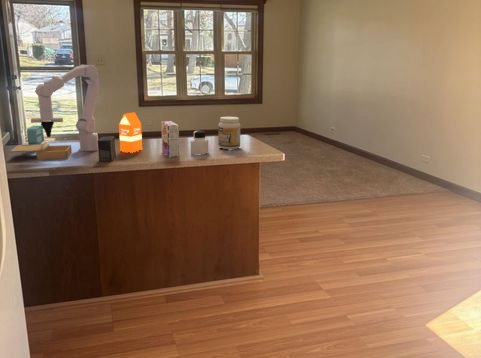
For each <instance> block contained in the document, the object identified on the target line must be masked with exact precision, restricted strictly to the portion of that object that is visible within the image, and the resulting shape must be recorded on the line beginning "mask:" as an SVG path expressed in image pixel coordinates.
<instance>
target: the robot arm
mask: <svg viewBox="0 0 481 358" xmlns="http://www.w3.org/2000/svg"><path fill="white" fill-rule="evenodd" d="M77 77H81V78H82V79H83V80H84V81H85V82H86V84H87V87H86V88H87V89H86V93H85V99H84V104H83V108H82V109H83V110H82V113H81V114H80V115H79V117H78V119H77V121H76V124H75V128H76V130H78V138H79V149H78V151H79V152H85V151H87V152H90V151H91V152H92V151H95V152H96V151H98V140H99V135H98V133H97V132H95V130H96V119H95V117H94V115H95V108H96V103H97V99H98V94H99V88H100V85H101V84H100V78H99V69H98V68H97V67H96V66H95V65H93V64H80V65H77V66H75V67H74V68H73V69H72V68H71V70H69V71H68V72H65V74H63V75H61V76H58V75H57V76H55V75H54V76H52V77H51V79H48V81H44V82H43V84H42V83H41V84H38V85H37V86H36V88H35V90H34V91H35V94H36V95H37V96H38V98H37V99H38V105H39V115H40V117H36V118H35V117H33V118H30V123H31V124H34V123H35V124H36V123H37V124H38V123H40V126H42V127H43V131H44V133H45V135H46V138H51V136H52V129H53V127H54V126H53V125H54V124H55V123H64V118H63V117H54V115H53V114H54V113H53V112H54V111H53V104H52V95H53V93H54V92H56V91H59V90H61V89H62V88H63V87H64V86H65V83H67V82H70V81H71V80H73V79H75V78H77Z"/></svg>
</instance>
